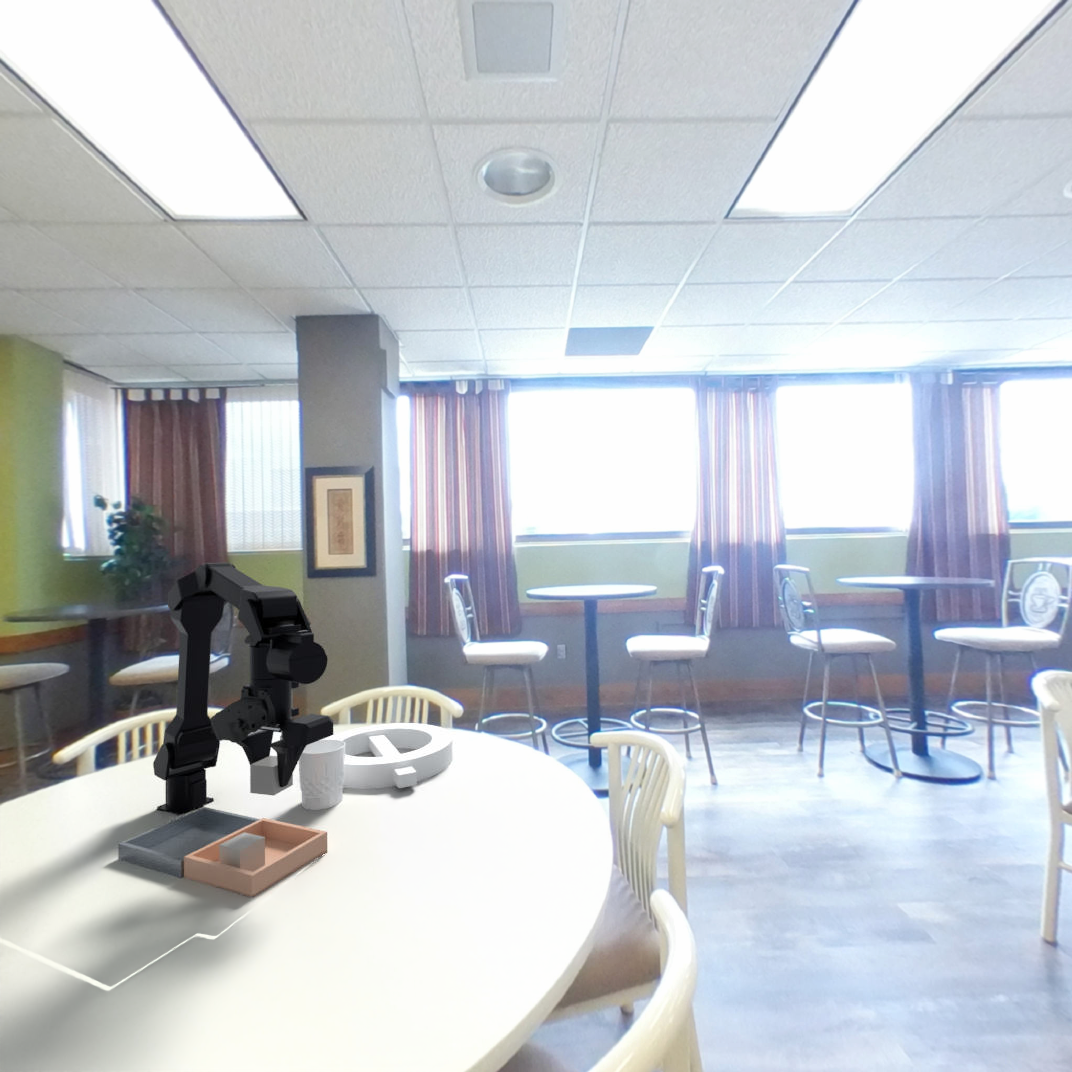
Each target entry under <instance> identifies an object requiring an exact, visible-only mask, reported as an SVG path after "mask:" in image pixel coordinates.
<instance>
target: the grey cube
mask: <svg viewBox="0 0 1072 1072" xmlns="http://www.w3.org/2000/svg"><path fill="white" fill-rule="evenodd" d="M249 769H250V771H249V773H250V779H249V781H250V782H249V783H250V786H249V787H250V789H249V790H250V794H257V795H263V796H264V795H266V796H267V795H268V796H275V795H278V794H279V793H281V792H283V791H285V790H286V789H288V788H290V787H292V786H293V785H294V782H293V781H294V778H293V777H294V776H293V775H294V774H292V776H291V778H290V780H289V782H288V785H287V786H284V787H280V785H279V779H278V764H277V755H270V756H268V757H266V758H264V759H262V760H259V761H257V762H255V763H253V764H251V765H250V764H249Z"/></svg>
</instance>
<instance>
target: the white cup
mask: <svg viewBox="0 0 1072 1072" xmlns="http://www.w3.org/2000/svg"><path fill="white" fill-rule="evenodd" d="M298 769H299V770H298V772H299V774H298V775H299V782H300V783H299V785H300V786H299V787H300V791H301V792H300V793H301V806H302V807H303V808H304V809H307V810H311V811H313V810H314V811H315V810H324V809H328V808H332V807H333V808H334V807H335V806H338V805H339V804H341V802H343V799H344V798H343V794H344V787H343V785H344V769H345V742H343V741H341V740H332V739H330V740H325V739H321V740H319V741H316V742H314V743H311V744H308V745H306V747H305V749H304V751H303V752H302V754H301V756H300V758H299V760H298Z"/></svg>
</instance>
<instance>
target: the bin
mask: <svg viewBox="0 0 1072 1072" xmlns="http://www.w3.org/2000/svg"><path fill="white" fill-rule="evenodd" d="M260 819H261V818H256V817H251V816H247V815H242V814H238V813H233V812H229V811H225V810H220V809H215V808H211V807H206V806H202V808H201V807H200V808H198V809H195V810H193V811H191V812H188V813H186V814H184V815H183V816H180V817H178V818H175V819H173V820H171V821H168V822H166V823H163V824H161V825H159V826H157V827H154V828H152V829H150V830H146V831H144V832H142V833H140V834H138V835H135V836H134V837H130V838H128V839H126V840H124V841H121V842H119V843H118V844H117V846H118V847H117V848H118V851H117V852H118V854H117V855H118V856H117V859H118V860H119V861H122V862H125V863H130V864H132V865H135V866H138V867H142V868H145V869H149V870H153V871H155V872H159V873H163V874H166V875H169V876H172V877H175V878H179V879H183V878H184V856H187V855H189V854H191V853H193V852H195V851H197V850H199V849H201V848H203V847H205V846H207V845H209V844H211V843H213V842H215V841H217V840H219V839H221V838H223V837H225V836H227V835H229V834H231V833H233V832H235V831H237V830H239V829H242V828H244V827H246V826H248V825H250V824H252V823H254V822H256V821H258V820H260Z"/></svg>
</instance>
